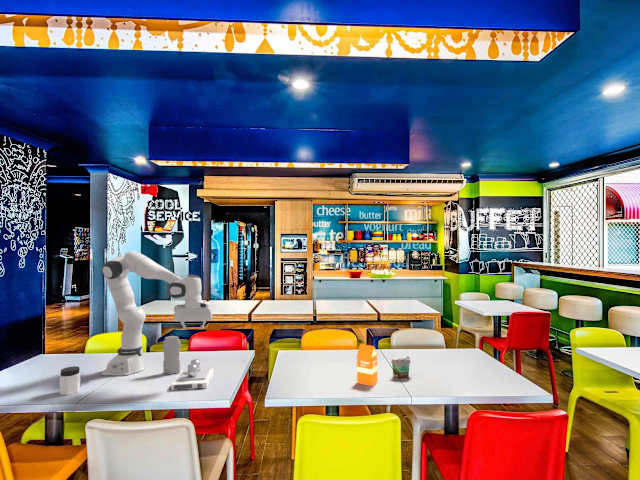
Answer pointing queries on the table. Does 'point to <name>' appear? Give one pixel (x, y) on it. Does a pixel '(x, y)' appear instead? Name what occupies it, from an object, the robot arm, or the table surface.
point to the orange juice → (366, 365)
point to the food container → (401, 367)
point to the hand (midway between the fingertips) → (193, 329)
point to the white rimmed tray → (193, 379)
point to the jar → (69, 380)
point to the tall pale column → (171, 355)
